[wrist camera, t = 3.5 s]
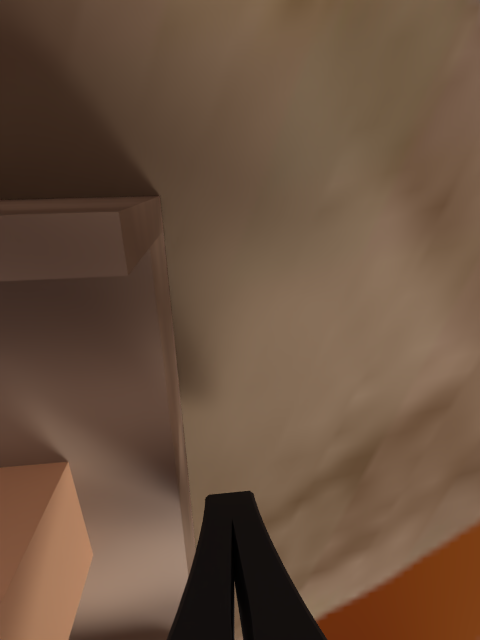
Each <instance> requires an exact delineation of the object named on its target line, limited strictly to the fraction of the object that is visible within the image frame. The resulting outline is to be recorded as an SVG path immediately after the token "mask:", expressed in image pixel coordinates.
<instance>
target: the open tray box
mask: <svg viewBox="0 0 480 640" xmlns="http://www.w3.org/2000/svg"><path fill="white" fill-rule="evenodd" d="M59 462H68V463H69V466H70V470H71V474H72V478H73V481H74V485H75V489H76V493H77V496H78V500H79V504H80V507H81V511H82V515H83V519H84V522H85V526H86V530H87V534H88V537H89V541H90V545H91V549H92V552H93V558H92V561H91V565H90V568H89V571H88V575H87V578H86V582H85V585H84V588H83V592H82V595H81V599H80V602H79V606H78V609H77V612H76V616H75V619H74V623H73V626H72V630H71V633H70V636H69V640H166V639H167V637H168V634H169V632H170V629H171V626H172V624H173V621H174V618H175V615H176V613H177V610H178V607H179V604H180V601H181V598H182V595H183V592H184V589H185V586H186V583H187V580H188V577H189V573H190V570H191V566H192V563H193V559H194V555H195V552H196V547H195V537H194V527H193V517H192V508H191V498H190V488H189V478H188V468H187V458H186V448H185V438H184V428H183V418H182V408H181V399H180V389H179V379H178V369H177V359H176V349H175V339H174V329H173V319H172V309H171V300H170V290H169V280H168V270H167V260H166V250H165V240H164V230H163V220H162V210H161V200H160V196H139V197H100V198H61V199H22V200H0V468H1V467H13V466H24V465H36V464H47V463H59Z"/></svg>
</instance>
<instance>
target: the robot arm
mask: <svg viewBox="0 0 480 640" xmlns="http://www.w3.org/2000/svg"><path fill="white" fill-rule="evenodd" d="M234 581H235V588H236V594H237V601H238V607H239V614H240V621H241V627H242V634H243V640H327V639H326V637H325V635H324V634H323V632H322V631H321V629H320V628H319V626H318V624H317V623H316V621H315V620H314V618H313V616H312V615H311V613H310V611H309V610H308V608H307V606H306V605H305V603H304V601H303V600H302V598H301V596H300V594H299V593H298V591H297V589H296V587H295V586H294V584H293V582H292V580H291V578H290V576H289V575H288V573H287V571H286V569H285V567H284V565H283V563H282V561H281V559H280V557H279V555H278V553H277V551H276V549H275V547H274V545H273V543H272V541H271V539H270V537H269V534H268V532H267V530H266V527H265V525H264V523H263V520H262V518H261V515H260V513H259V510H258V507H257V504H256V501H255V498H254V494H253V493H252V492H251V491H243V492H233V493H223V494H212V495H208V496H207V497H206V499H205V510H204V517H203V522H202V527H201V532H200V536H199V540H198V545H197V548H196V552H195V555H194V559H193V563H192V566H191V570H190V573H189V577H188V580H187V583H186V586H185V589H184V592H183V595H182V598H181V601H180V604H179V607H178V610H177V613H176V615H175V618H174V621H173V624H172V626H171V629H170V632H169V634H168V637H167V639H166V640H234Z"/></svg>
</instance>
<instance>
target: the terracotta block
mask: <svg viewBox="0 0 480 640" xmlns="http://www.w3.org/2000/svg"><path fill="white" fill-rule="evenodd" d="M92 558H93V552H92V549H91V545H90V541H89V537H88V534H87V530H86V526H85V522H84V519H83V515H82V511H81V507H80V504H79V500H78V496H77V493H76V489H75V485H74V481H73V478H72V474H71V470H70V466H69V463H68V462H59V463H47V464H36V465H24V466H13V467H1V468H0V640H69V636H70V633H71V630H72V626H73V623H74V619H75V616H76V612H77V609H78V606H79V602H80V599H81V595H82V592H83V588H84V585H85V582H86V578H87V575H88V571H89V568H90V565H91V561H92Z"/></svg>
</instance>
